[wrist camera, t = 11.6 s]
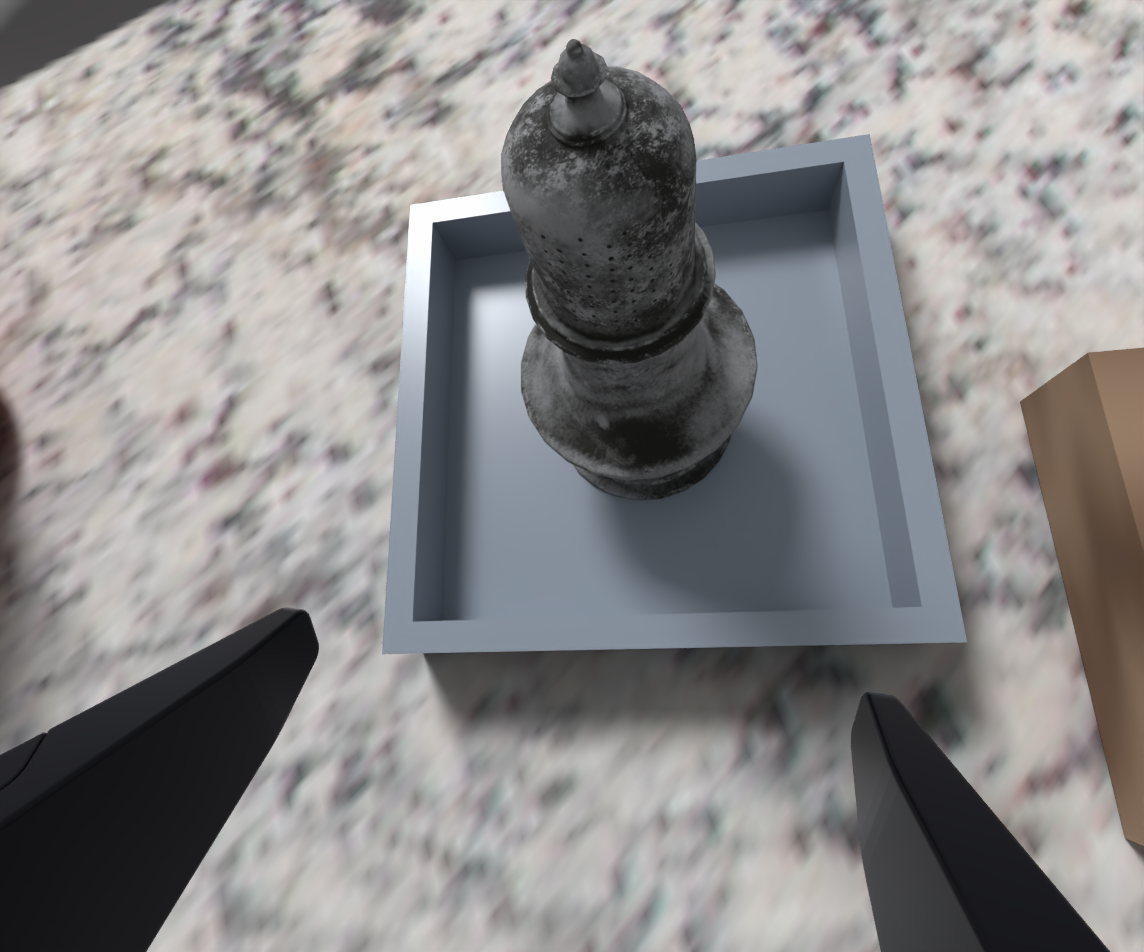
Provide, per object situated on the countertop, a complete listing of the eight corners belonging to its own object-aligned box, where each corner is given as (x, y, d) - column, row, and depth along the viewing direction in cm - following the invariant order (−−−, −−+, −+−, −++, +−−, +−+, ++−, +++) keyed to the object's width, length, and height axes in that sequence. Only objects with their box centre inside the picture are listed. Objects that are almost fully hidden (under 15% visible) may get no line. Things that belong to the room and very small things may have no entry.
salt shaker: (653, 294, 19) (603, -207, 8) (787, 420, 17) (977, 1, 6) (513, 412, 19) (256, 72, 8) (634, 551, 17) (530, 377, 6)
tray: (925, 642, 16) (967, 642, 13) (422, 652, 18) (382, 653, 16) (847, 196, 20) (869, 134, 17) (440, 252, 22) (410, 205, 19)
